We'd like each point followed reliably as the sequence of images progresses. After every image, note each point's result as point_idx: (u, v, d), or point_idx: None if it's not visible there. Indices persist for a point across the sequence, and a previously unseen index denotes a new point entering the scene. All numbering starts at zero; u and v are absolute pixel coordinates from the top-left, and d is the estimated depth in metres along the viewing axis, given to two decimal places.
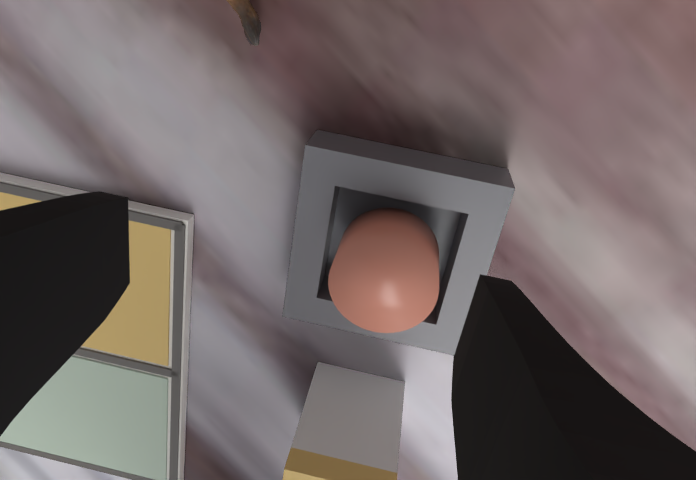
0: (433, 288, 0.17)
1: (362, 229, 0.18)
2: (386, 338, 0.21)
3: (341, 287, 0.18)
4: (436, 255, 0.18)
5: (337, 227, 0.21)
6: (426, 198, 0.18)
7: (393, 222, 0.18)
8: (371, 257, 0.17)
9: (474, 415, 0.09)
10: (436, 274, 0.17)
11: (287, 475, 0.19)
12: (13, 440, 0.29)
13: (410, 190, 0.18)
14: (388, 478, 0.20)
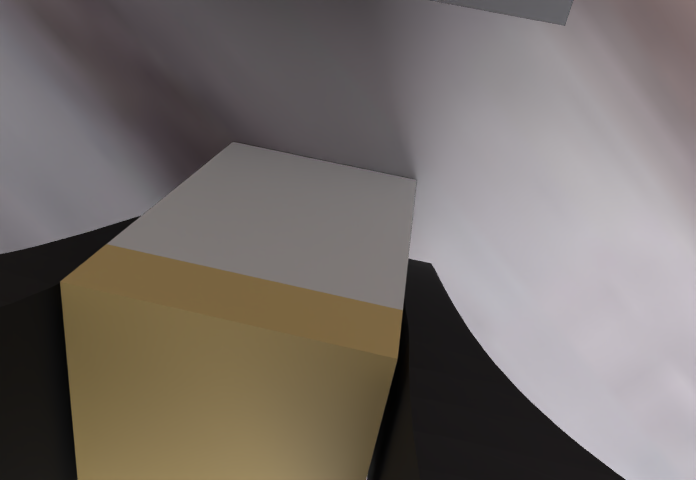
0: None
1: None
2: None
3: None
4: None
5: None
6: None
7: None
8: None
9: None
10: None
11: (73, 304, 0.06)
12: None
13: None
14: (377, 319, 0.07)
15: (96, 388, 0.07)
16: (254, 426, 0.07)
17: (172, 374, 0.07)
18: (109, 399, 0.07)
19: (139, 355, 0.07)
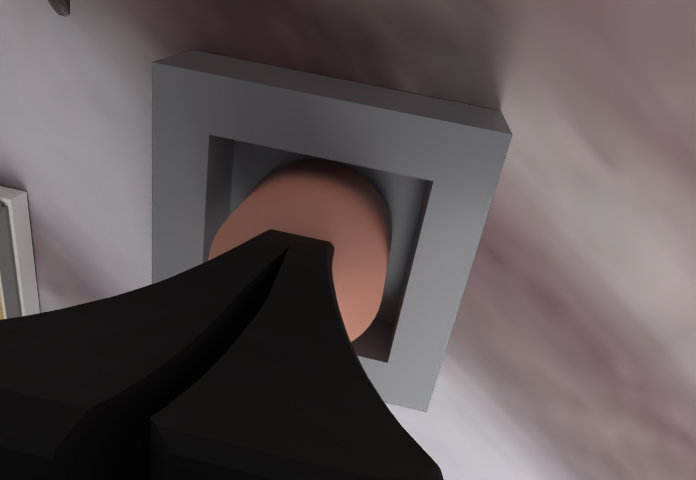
0: (374, 283, 0.11)
1: (262, 188, 0.11)
2: None
3: None
4: (382, 231, 0.12)
5: None
6: (361, 153, 0.11)
7: (311, 178, 0.11)
8: None
9: None
10: (377, 260, 0.11)
11: None
12: None
13: (334, 140, 0.11)
14: None
15: None
16: None
17: None
18: None
19: None
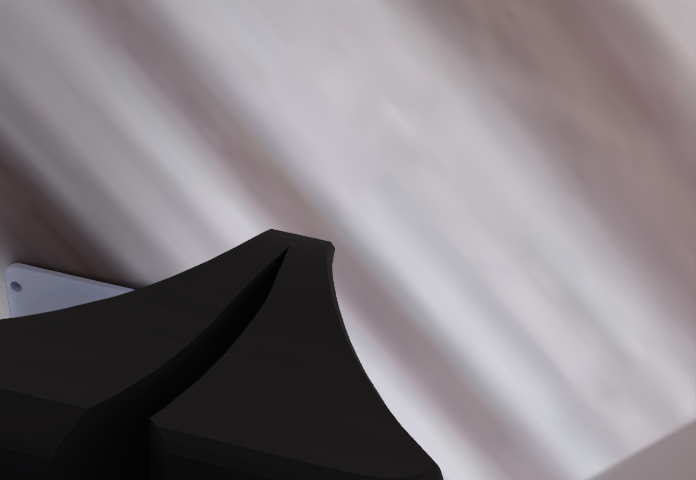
0: None
1: None
2: None
3: None
4: None
5: None
6: None
7: None
8: None
9: None
10: None
11: None
12: None
13: None
14: None
15: None
16: None
17: None
18: None
19: None
